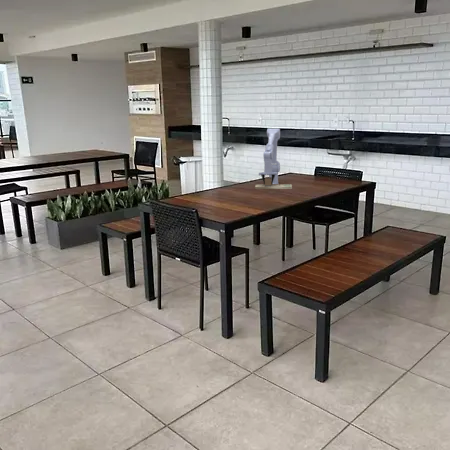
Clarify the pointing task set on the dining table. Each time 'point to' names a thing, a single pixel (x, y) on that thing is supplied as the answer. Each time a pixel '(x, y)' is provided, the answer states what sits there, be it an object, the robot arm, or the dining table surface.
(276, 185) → the birch board
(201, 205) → the dining table surface
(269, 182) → the eraser block
